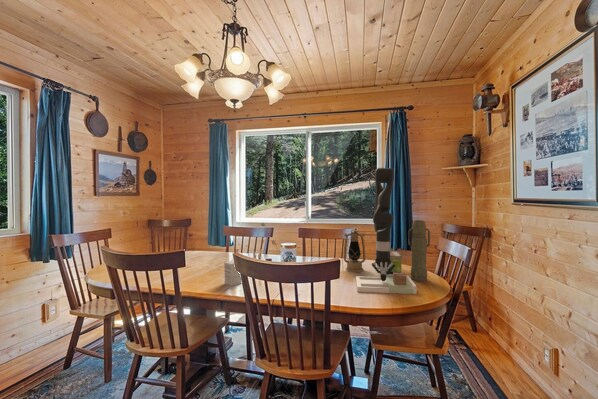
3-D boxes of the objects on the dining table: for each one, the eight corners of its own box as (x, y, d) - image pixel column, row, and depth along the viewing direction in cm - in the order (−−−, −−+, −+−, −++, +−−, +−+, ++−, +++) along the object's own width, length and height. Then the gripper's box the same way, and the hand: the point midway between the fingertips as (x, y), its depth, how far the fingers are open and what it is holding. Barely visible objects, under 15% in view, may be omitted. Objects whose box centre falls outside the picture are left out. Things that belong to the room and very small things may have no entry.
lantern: (344, 271, 195) (344, 226, 194) (343, 267, 207) (342, 224, 206) (366, 272, 194) (366, 226, 193) (364, 267, 206) (364, 224, 205)
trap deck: (355, 280, 175) (355, 273, 174) (408, 282, 170) (408, 275, 170) (357, 291, 155) (357, 283, 155) (416, 294, 150) (416, 286, 150)
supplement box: (235, 281, 176) (235, 259, 175) (242, 283, 170) (242, 261, 170) (224, 283, 170) (223, 261, 170) (231, 286, 165) (230, 263, 165)
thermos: (406, 277, 181) (406, 220, 180) (427, 277, 179) (427, 220, 179) (410, 281, 172) (410, 221, 172) (431, 282, 170) (431, 221, 170)
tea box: (401, 280, 174) (401, 255, 173) (384, 280, 176) (384, 255, 175) (398, 274, 188) (398, 250, 188) (382, 273, 190) (382, 250, 190)
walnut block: (393, 281, 164) (393, 272, 164) (404, 282, 163) (404, 272, 163) (394, 284, 158) (394, 275, 158) (406, 285, 157) (406, 275, 157)
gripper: (394, 248, 165) (394, 279, 165) (370, 247, 167) (370, 278, 167) (396, 250, 157) (397, 283, 158) (371, 250, 159) (371, 282, 159)
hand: (383, 280), depth 162 cm, fingers closed
